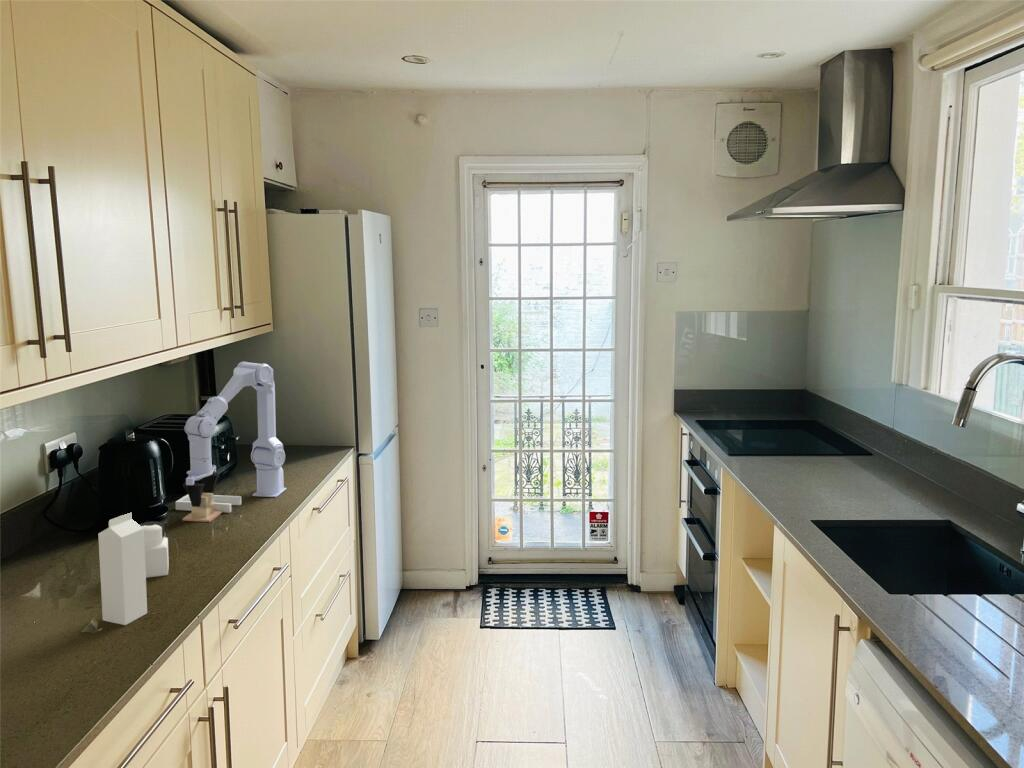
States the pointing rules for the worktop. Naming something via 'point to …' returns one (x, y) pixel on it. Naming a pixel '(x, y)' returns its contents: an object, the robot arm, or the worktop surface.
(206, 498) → the beech block
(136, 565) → the milk
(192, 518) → the coaster
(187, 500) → the channel
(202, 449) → the robot arm
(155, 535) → the medicine bottle
